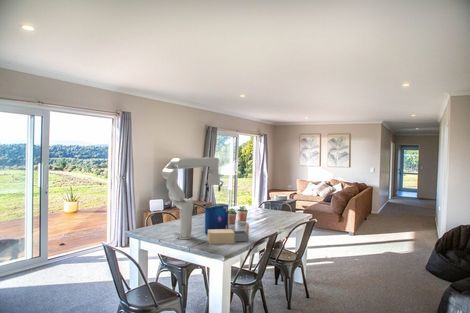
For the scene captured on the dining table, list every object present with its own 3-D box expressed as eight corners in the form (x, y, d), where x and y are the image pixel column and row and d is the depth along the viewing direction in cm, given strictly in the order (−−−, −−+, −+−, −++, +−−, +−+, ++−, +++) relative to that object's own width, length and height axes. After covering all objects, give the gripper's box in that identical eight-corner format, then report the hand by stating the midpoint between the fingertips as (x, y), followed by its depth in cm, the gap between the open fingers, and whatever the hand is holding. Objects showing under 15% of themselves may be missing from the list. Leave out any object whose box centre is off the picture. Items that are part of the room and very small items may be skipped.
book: (207, 236, 264) (208, 206, 264) (203, 234, 270) (204, 205, 270) (228, 232, 277) (229, 204, 277) (224, 231, 283) (224, 203, 283)
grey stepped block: (224, 241, 246) (225, 225, 246) (222, 238, 255) (222, 222, 255) (249, 240, 250) (249, 225, 250) (246, 237, 260) (246, 222, 260)
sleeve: (209, 243, 242) (209, 233, 242) (207, 239, 254) (207, 229, 254) (234, 242, 246) (234, 232, 246) (231, 238, 258) (231, 228, 258)
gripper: (204, 171, 269) (204, 192, 269) (224, 172, 273) (224, 192, 273) (203, 171, 276) (203, 190, 276) (223, 171, 280) (222, 190, 280)
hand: (213, 191), depth 275 cm, fingers open, 9 cm apart
